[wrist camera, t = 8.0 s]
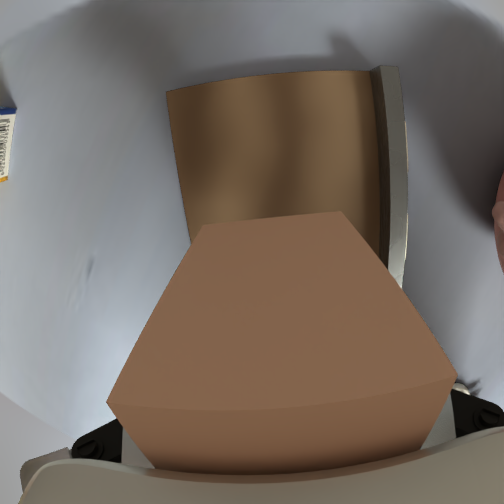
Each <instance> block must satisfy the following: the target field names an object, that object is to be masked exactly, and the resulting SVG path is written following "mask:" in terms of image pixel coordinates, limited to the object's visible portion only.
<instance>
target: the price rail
mask: <svg viewBox="0 0 504 504" xmlns="http://www.w3.org/2000/svg"><path fill="white" fill-rule="evenodd" d="M369 72H370V79H371V86H372V94H373V102H374V111H375V121H376V132H377V145H378V162H379V189H380V235H379V259H380V260H381V262H382V263H383V264H384V266H385V267H386V268H387V270H388V271H389V272H390V274H391V275H392V276H393V278H394V279H395V280H396V282H397V283H398V284H399V286H400V287H401V289H402V283H403V273H404V262H405V259H406V247H407V230H408V214H407V205H408V175H407V172H408V149H407V132H406V121H405V118H404V108H403V99H402V91H401V83H400V76H399V69H398V67H394V66H378V67H376V68H374V69H372V70H370V71H369Z"/></svg>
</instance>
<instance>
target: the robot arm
mask: <svg viewBox="0 0 504 504" xmlns="http://www.w3.org/2000/svg"><path fill="white" fill-rule="evenodd" d="M20 478H21V484H22V490H23V494H22V496H21V498H20V501H19V503H18V504H504V412H503V410H502V409H501V408H500V407H499V406H498V405H496V404H494V403H492V402H489V401H486V400H483V399H480V398H477V397H474V396H472V395H470V392H469V391H468V389H467V387H466V386H464V385H463V384H459V383H454V385H453V387H452V389H451V392H450V394H449V396H448V398H447V400H446V402H445V404H444V406H443V408H442V410H441V412H440V414H439V416H438V418H437V420H436V422H435V424H434V426H433V428H432V429H431V431H430V433H429V435H428V437H427V438H426V440H425V442H424V443H423V445H422V447H421V448H420V450H418V451H414V452H411V453H407V454H404V455H400V456H396V457H392V458H388V459H383V460H379V461H374V462H370V463H365V464H359V465H354V466H348V467H342V468H335V469H328V470H321V471H312V472H302V473H290V474H273V475H216V474H199V473H186V472H177V471H168V470H160V469H155V467H154V466H153V465H152V464H151V463H150V461H149V460H148V459H147V458H146V457H145V455H144V454H143V453H142V452H141V450H140V449H139V448H138V446H137V445H136V444H135V443H134V441H133V440H132V439H131V437H130V436H129V435H128V433H127V432H126V430H125V429H124V428H123V426H122V425H121V423H120V422H119V421H118V419H115V420H113V421H111V422H109V423H107V424H105V425H103V426H101V427H99V428H97V429H95V430H93V431H91V432H89V433H87V434H85V435H83V436H82V437H80V438H79V439H77V441H76V442H75V443H74V444H73V447H72V449H70V450H69V449H68V447H66V448H63V449H60V450H58V451H55V452H52V453H49V454H46V455H43V456H40V457H37V458H34V459H31V460H28V461H27V462H25V463H24V464H23V466H22V468H21V470H20Z"/></svg>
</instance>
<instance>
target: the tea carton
mask: <svg viewBox="0 0 504 504" xmlns="http://www.w3.org/2000/svg"><path fill="white" fill-rule="evenodd" d="M457 376H458V374H457V372H456V371H455V369H454V367H453V366H452V364H451V362H450V361H449V359H448V357H447V356H446V354H445V353H444V351H443V349H442V348H441V346H440V345H439V343H438V342H437V340H436V338H435V337H434V335H433V334H432V332H431V331H430V329H429V328H428V326H427V325H426V323H425V322H424V320H423V319H422V317H421V316H420V314H419V313H418V311H417V310H416V308H415V307H414V306H413V304H412V303H411V301H410V300H409V298H408V297H407V296H406V294H405V293H404V291H403V290H402V289H401V287H400V286H399V284H398V283H397V282H396V280H395V279H394V278H393V276H392V275H391V274H390V272H389V271H388V270H387V268H386V267H385V266H384V264H383V263H382V262H381V260H380V259H379V258H378V256H377V255H376V254H375V253H374V251H373V250H372V249H371V247H370V246H369V245H368V244H367V242H366V241H365V240H364V239H363V237H362V236H361V235H360V234H359V232H358V231H357V230H356V229H355V227H354V226H353V225H352V224H351V223H350V221H349V220H348V219H347V218H346V217H345V215H344V214H343V213H342V212H341V211H337V212H325V213H314V214H303V215H292V216H282V217H272V218H262V219H253V220H243V221H234V222H225V223H216V224H208V225H203V226H202V228H201V229H200V231H199V233H198V234H197V236H196V238H195V239H194V241H193V243H192V244H191V246H190V248H189V249H188V251H187V253H186V254H185V256H184V258H183V259H182V261H181V263H180V265H179V266H178V268H177V270H176V271H175V273H174V275H173V277H172V278H171V280H170V282H169V284H168V285H167V287H166V289H165V291H164V292H163V294H162V296H161V298H160V300H159V301H158V303H157V305H156V307H155V309H154V310H153V312H152V314H151V316H150V318H149V320H148V321H147V323H146V325H145V327H144V329H143V331H142V332H141V334H140V336H139V338H138V340H137V342H136V344H135V346H134V348H133V350H132V351H131V353H130V355H129V357H128V359H127V361H126V363H125V365H124V367H123V369H122V371H121V373H120V375H119V377H118V379H117V381H116V383H115V385H114V387H113V389H112V391H111V393H110V395H109V397H108V399H107V401H106V403H107V404H108V406H109V407H110V409H111V410H112V412H113V413H114V415H115V416H116V418H117V419H118V421H119V422H120V423H121V425H122V426H123V428H124V429H125V430H126V432H127V433H128V435H129V436H130V437H131V439H132V440H133V441H134V443H135V444H136V445H137V446H138V448H139V449H140V450H141V452H142V453H143V454H144V455H145V457H146V458H147V459H148V460H149V461H150V463H151V464H152V465H153V466H154V467H155V469H160V470H168V471H177V472H186V473H199V474H216V475H273V474H290V473H302V472H312V471H321V470H328V469H335V468H342V467H348V466H354V465H359V464H365V463H370V462H374V461H379V460H383V459H388V458H392V457H396V456H400V455H404V454H407V453H411V452H414V451H418V450H420V448H421V447H422V445H423V443H424V442H425V440H426V438H427V437H428V435H429V433H430V431H431V429H432V428H433V426H434V424H435V422H436V420H437V418H438V416H439V414H440V412H441V410H442V408H443V406H444V404H445V402H446V400H447V398H448V396H449V394H450V392H451V389H452V387H453V385H454V383H455V380H456V378H457Z"/></svg>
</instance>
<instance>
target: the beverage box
mask: <svg viewBox="0 0 504 504" xmlns="http://www.w3.org/2000/svg"><path fill="white" fill-rule="evenodd" d="M16 111H17V108H10V107H0V182H3V181H5V180H8V171H9V160H10V150H11V142H12V135H13V129H14V123H15V117H16Z"/></svg>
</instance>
